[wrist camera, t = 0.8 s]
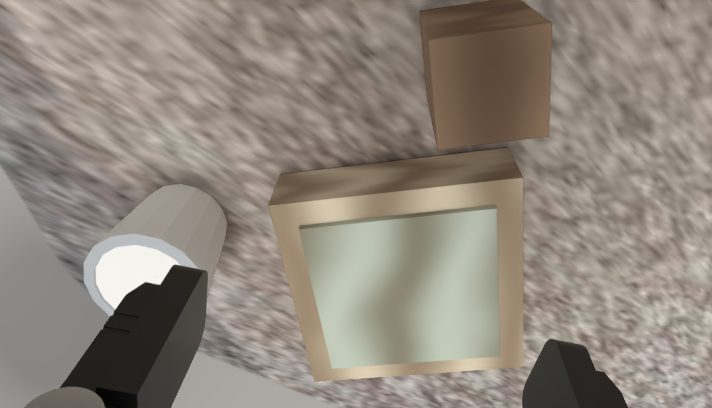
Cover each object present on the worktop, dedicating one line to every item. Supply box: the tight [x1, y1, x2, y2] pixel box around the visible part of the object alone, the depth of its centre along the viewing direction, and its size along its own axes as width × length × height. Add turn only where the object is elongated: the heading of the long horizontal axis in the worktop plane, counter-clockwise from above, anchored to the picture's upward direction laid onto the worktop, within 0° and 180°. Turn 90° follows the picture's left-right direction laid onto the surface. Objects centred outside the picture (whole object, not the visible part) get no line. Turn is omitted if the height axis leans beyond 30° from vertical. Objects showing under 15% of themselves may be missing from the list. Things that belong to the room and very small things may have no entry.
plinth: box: [268, 148, 523, 382], centre depth 34 cm, size 14×14×4 cm
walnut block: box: [419, 0, 552, 150], centre depth 26 cm, size 5×5×7 cm
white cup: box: [84, 184, 227, 316], centre depth 33 cm, size 7×7×7 cm
